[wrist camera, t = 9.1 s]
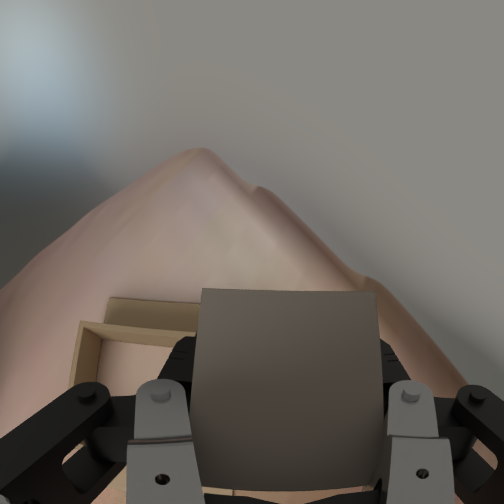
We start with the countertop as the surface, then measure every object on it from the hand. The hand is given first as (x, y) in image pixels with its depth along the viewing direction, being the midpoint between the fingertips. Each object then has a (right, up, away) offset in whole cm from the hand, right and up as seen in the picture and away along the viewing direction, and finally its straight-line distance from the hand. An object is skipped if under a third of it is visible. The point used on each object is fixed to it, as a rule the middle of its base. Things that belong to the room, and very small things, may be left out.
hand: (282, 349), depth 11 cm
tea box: (0, -4, +3) cm, 5 cm away
